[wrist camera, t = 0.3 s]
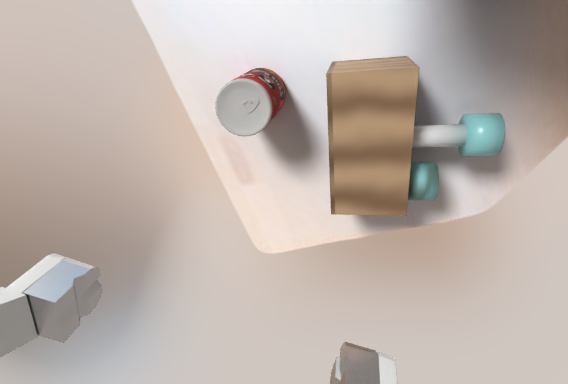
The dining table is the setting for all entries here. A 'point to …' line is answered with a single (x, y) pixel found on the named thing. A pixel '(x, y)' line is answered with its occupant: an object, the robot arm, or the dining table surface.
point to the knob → (465, 135)
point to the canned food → (250, 101)
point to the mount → (375, 138)
